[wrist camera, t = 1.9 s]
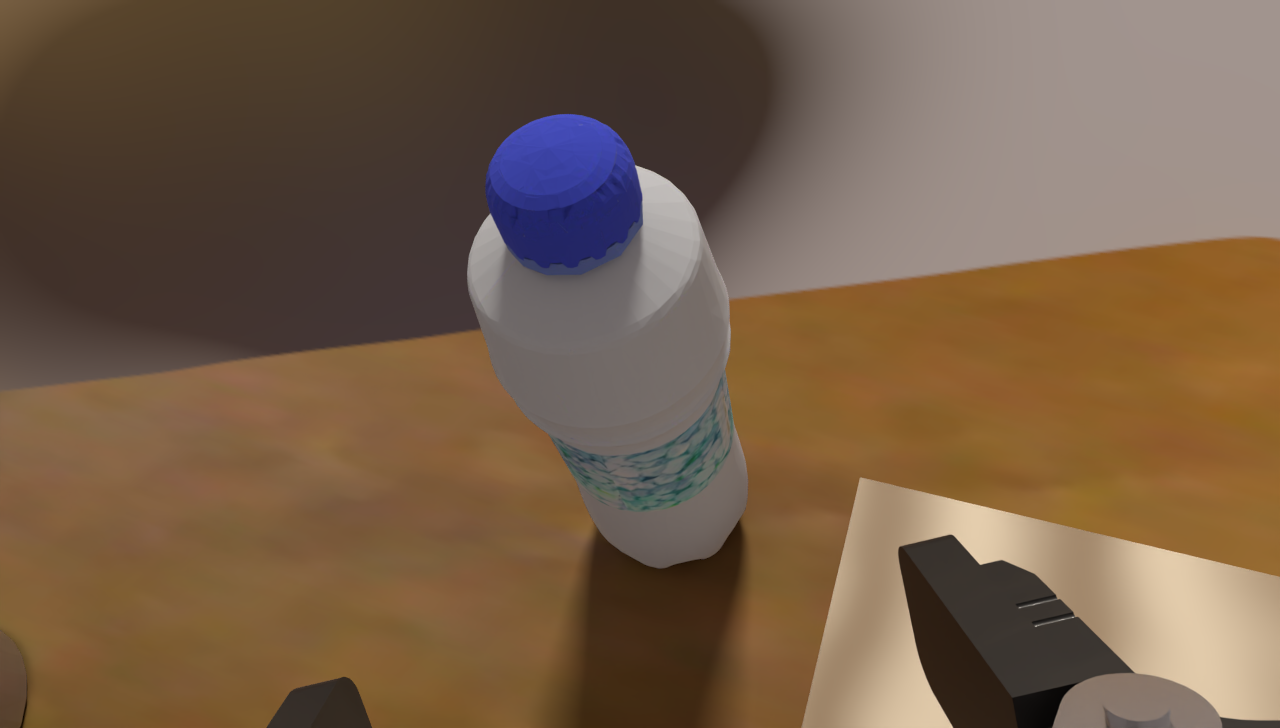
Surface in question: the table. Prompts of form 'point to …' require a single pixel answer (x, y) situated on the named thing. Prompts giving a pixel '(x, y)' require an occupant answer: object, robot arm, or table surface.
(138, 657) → the table surface
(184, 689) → the table surface
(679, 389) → the bottle
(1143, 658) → the birch stand
